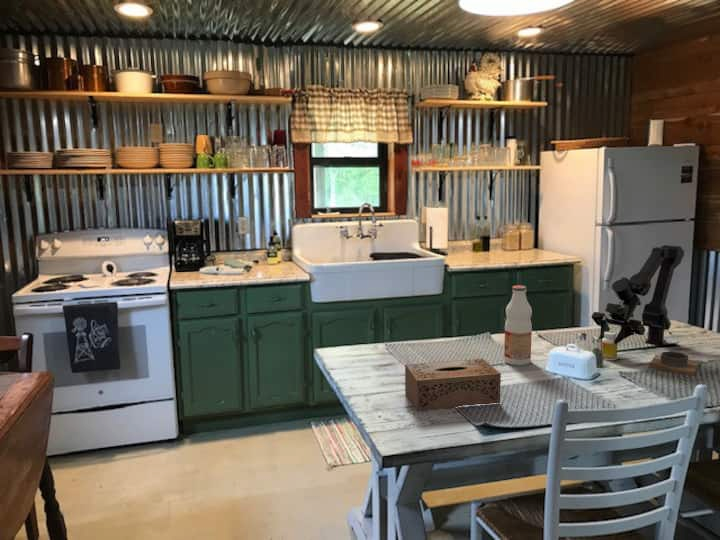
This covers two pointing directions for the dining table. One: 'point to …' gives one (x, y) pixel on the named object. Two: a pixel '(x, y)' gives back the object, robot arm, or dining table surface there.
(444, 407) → the tissue box cover
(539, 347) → the dining table surface
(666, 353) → the bottle holder
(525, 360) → the fruit juice
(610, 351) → the supplement bottle
